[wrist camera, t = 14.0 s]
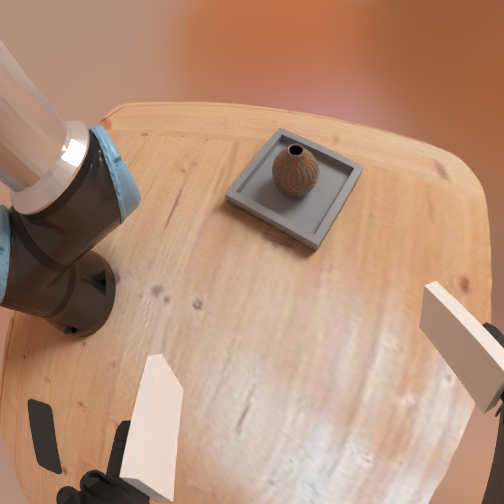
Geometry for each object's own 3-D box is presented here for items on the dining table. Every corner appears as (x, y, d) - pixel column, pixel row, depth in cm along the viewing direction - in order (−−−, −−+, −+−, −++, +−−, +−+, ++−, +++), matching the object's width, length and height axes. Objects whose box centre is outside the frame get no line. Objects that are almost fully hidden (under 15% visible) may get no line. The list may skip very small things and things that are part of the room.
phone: (37, 464, 33) (26, 398, 38) (40, 464, 34) (29, 398, 39) (61, 475, 32) (49, 405, 37) (64, 474, 33) (52, 405, 38)
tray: (228, 202, 47) (225, 194, 44) (280, 137, 50) (279, 127, 48) (316, 251, 42) (318, 245, 40) (360, 175, 46) (363, 166, 43)
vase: (284, 210, 44) (283, 177, 36) (266, 176, 46) (261, 140, 38) (324, 194, 44) (330, 160, 36) (304, 161, 47) (306, 125, 38)
